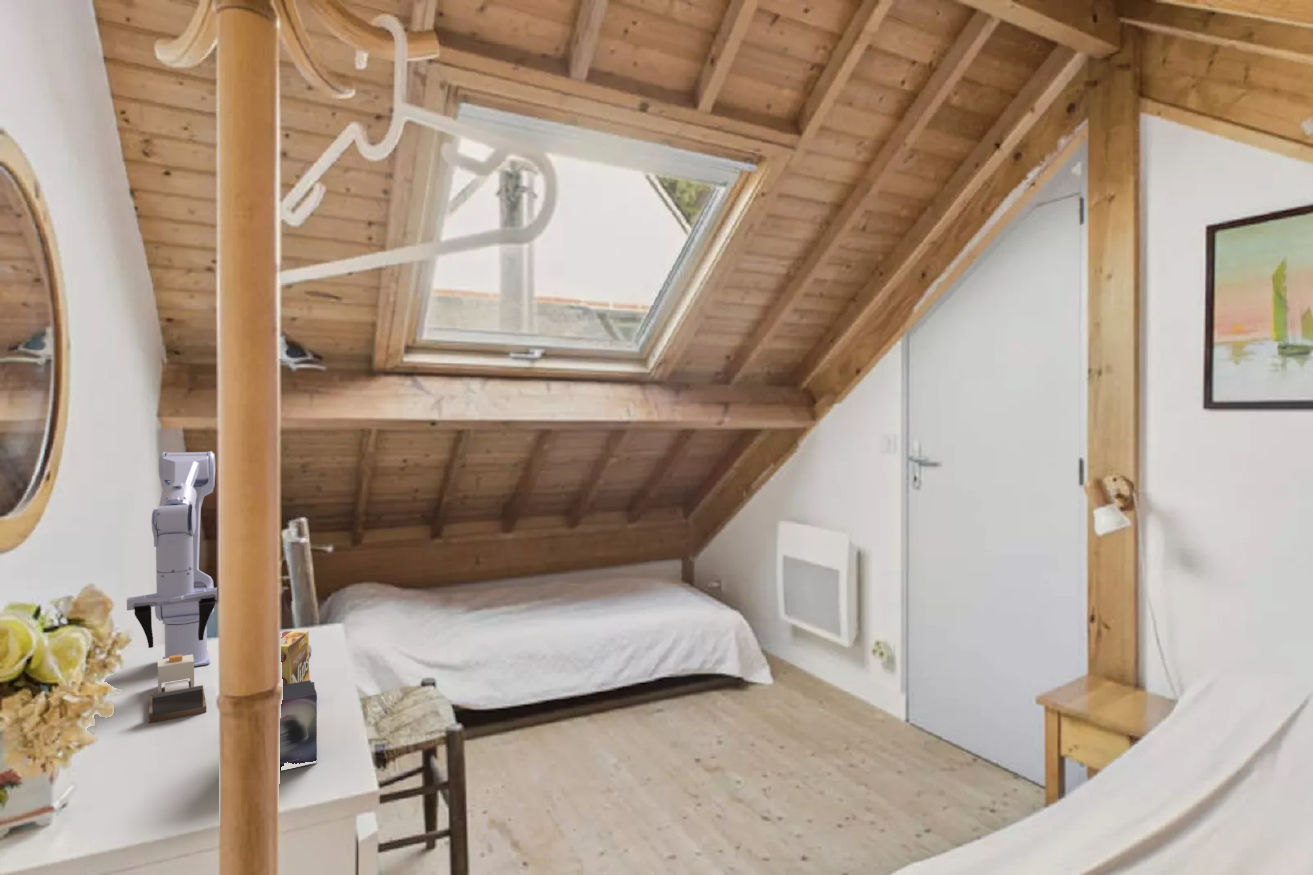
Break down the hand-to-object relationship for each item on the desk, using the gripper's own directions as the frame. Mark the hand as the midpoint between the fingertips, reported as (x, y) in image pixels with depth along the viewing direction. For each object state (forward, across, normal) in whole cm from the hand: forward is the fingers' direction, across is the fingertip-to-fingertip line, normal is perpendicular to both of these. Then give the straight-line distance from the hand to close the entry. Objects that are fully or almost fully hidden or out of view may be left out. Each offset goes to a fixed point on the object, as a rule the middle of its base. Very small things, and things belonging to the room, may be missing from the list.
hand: (176, 642), depth 134 cm
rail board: (+8, 0, -11) cm, 13 cm away
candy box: (+8, +14, -35) cm, 38 cm away
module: (+8, 0, 0) cm, 8 cm away
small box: (+8, +11, -45) cm, 47 cm away
